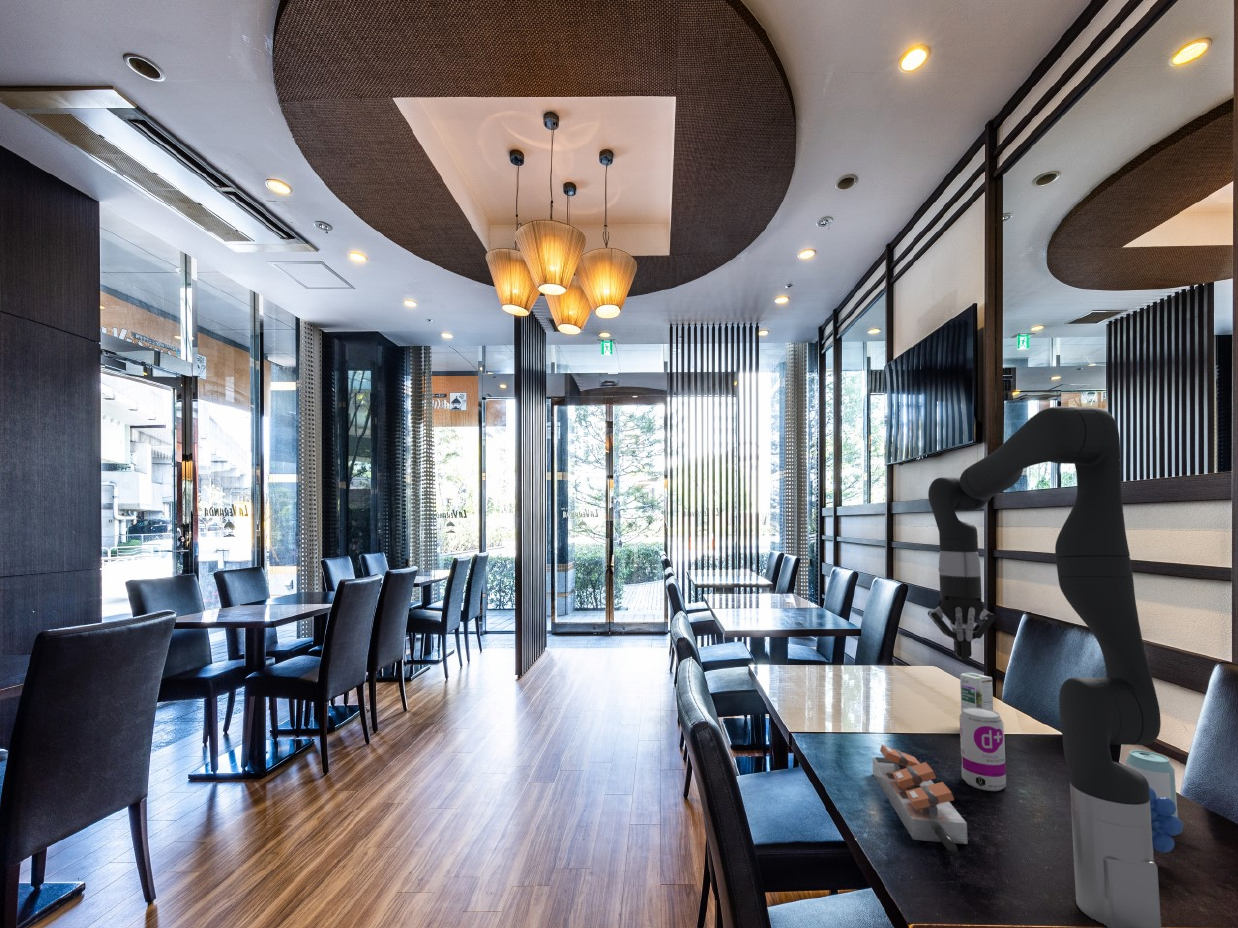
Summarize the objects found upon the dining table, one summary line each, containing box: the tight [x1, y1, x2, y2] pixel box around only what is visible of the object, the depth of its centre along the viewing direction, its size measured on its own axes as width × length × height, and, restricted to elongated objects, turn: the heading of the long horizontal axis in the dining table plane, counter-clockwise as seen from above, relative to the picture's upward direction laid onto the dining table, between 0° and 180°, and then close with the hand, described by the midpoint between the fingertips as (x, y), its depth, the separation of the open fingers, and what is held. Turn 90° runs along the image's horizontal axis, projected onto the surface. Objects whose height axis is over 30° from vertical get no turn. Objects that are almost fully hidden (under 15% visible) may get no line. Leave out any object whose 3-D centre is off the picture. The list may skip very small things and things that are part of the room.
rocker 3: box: [906, 781, 955, 809], centre depth 113 cm, size 4×7×2 cm, turn 81°
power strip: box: [872, 756, 968, 856], centre depth 119 cm, size 34×9×4 cm, turn 171°
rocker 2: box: [892, 761, 937, 789], centre depth 122 cm, size 4×7×2 cm, turn 81°
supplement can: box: [959, 707, 1007, 792], centre depth 132 cm, size 8×8×15 cm
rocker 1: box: [879, 744, 921, 767], centre depth 131 cm, size 4×7×2 cm, turn 81°
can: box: [1125, 749, 1179, 819], centre depth 117 cm, size 7×7×12 cm
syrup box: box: [959, 672, 994, 714], centre depth 166 cm, size 6×6×14 cm
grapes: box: [1149, 787, 1184, 854], centre depth 105 cm, size 12×7×12 cm, turn 62°
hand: (963, 658), depth 125 cm, fingers closed
